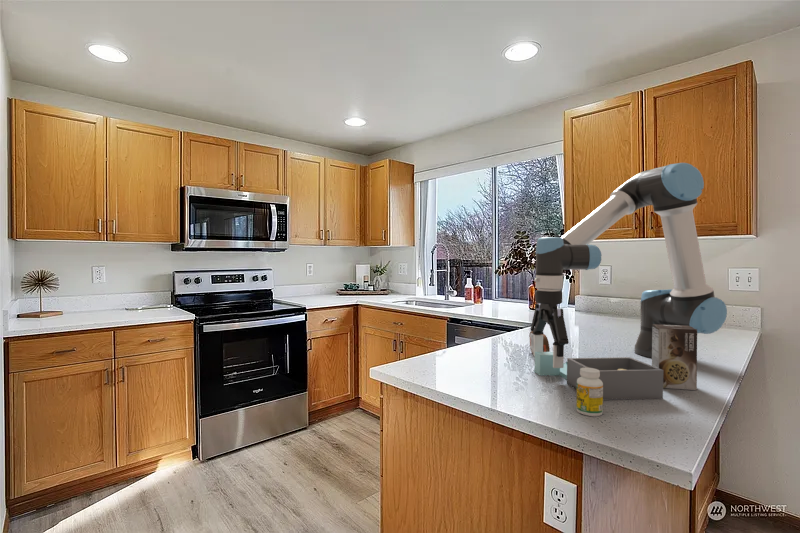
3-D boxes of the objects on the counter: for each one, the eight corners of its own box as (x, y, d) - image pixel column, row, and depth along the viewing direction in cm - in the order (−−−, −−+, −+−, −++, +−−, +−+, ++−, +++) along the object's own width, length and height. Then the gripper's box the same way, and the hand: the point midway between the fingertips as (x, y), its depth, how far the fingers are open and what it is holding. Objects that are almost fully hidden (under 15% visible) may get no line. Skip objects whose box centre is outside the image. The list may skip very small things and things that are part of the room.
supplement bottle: (607, 417, 91) (607, 373, 91) (582, 417, 91) (583, 373, 91) (595, 408, 97) (596, 366, 96) (572, 407, 97) (573, 366, 96)
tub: (629, 382, 116) (630, 357, 116) (662, 398, 103) (663, 370, 103) (566, 383, 115) (567, 358, 115) (592, 400, 102) (593, 371, 102)
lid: (604, 366, 133) (604, 347, 133) (631, 379, 120) (632, 358, 120) (528, 367, 131) (528, 348, 131) (547, 380, 118) (547, 359, 117)
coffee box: (687, 383, 116) (689, 325, 115) (697, 391, 109) (698, 329, 109) (650, 380, 118) (651, 323, 118) (657, 387, 112) (659, 327, 111)
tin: (550, 362, 138) (550, 336, 138) (540, 362, 138) (541, 336, 138) (536, 351, 153) (536, 328, 153) (527, 351, 153) (528, 328, 153)
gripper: (520, 286, 136) (519, 351, 137) (555, 293, 111) (554, 373, 112) (543, 286, 137) (542, 351, 137) (582, 293, 112) (581, 373, 113)
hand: (547, 361), depth 125 cm, fingers open, 13 cm apart
